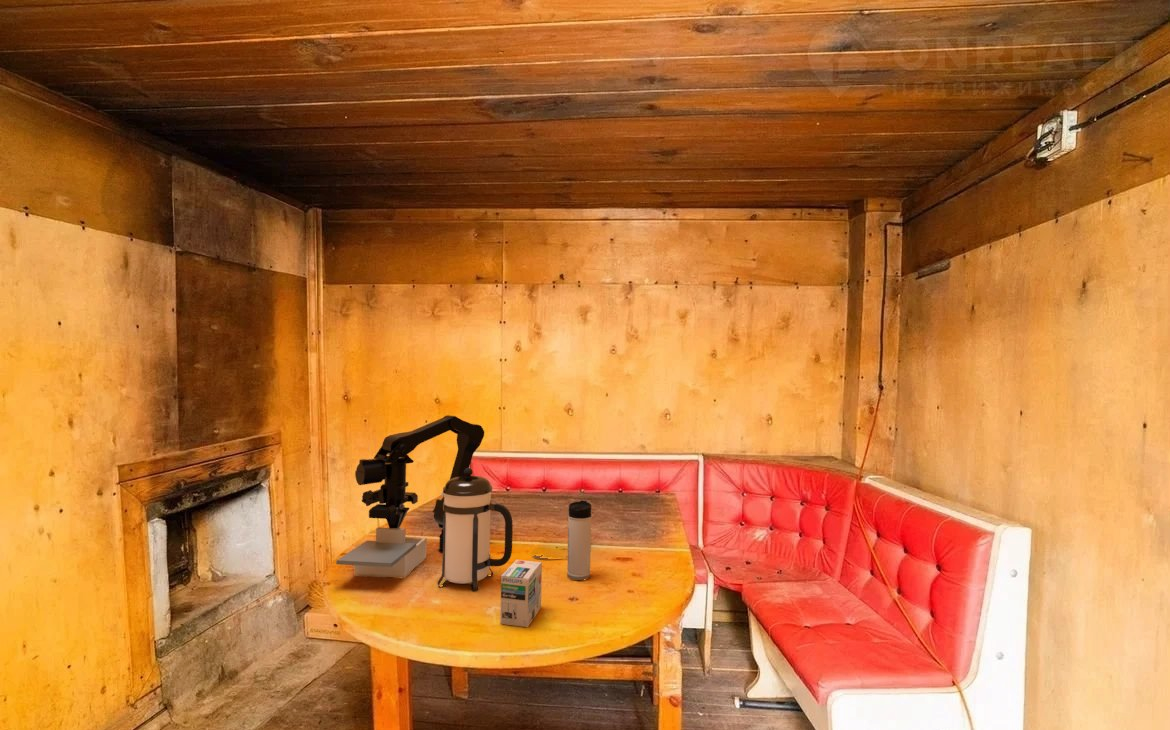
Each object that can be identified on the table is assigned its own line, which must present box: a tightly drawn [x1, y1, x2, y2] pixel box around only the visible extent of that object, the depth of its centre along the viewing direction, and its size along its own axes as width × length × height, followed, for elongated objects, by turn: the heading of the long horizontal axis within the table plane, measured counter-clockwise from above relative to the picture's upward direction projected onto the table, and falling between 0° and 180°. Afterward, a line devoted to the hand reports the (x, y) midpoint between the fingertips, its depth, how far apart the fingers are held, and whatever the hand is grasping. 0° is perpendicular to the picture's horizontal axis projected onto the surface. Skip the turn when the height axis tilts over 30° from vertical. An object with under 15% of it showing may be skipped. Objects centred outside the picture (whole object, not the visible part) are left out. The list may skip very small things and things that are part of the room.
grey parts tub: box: [353, 536, 428, 579], centre depth 147 cm, size 14×15×6 cm
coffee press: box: [436, 467, 514, 592], centre depth 138 cm, size 17×16×30 cm
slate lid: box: [336, 527, 416, 567], centre depth 139 cm, size 14×15×5 cm
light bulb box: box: [500, 559, 543, 628], centre depth 120 cm, size 11×7×11 cm, turn 168°
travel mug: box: [566, 499, 592, 581], centre depth 143 cm, size 6×7×20 cm
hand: (393, 535), depth 148 cm, fingers closed
